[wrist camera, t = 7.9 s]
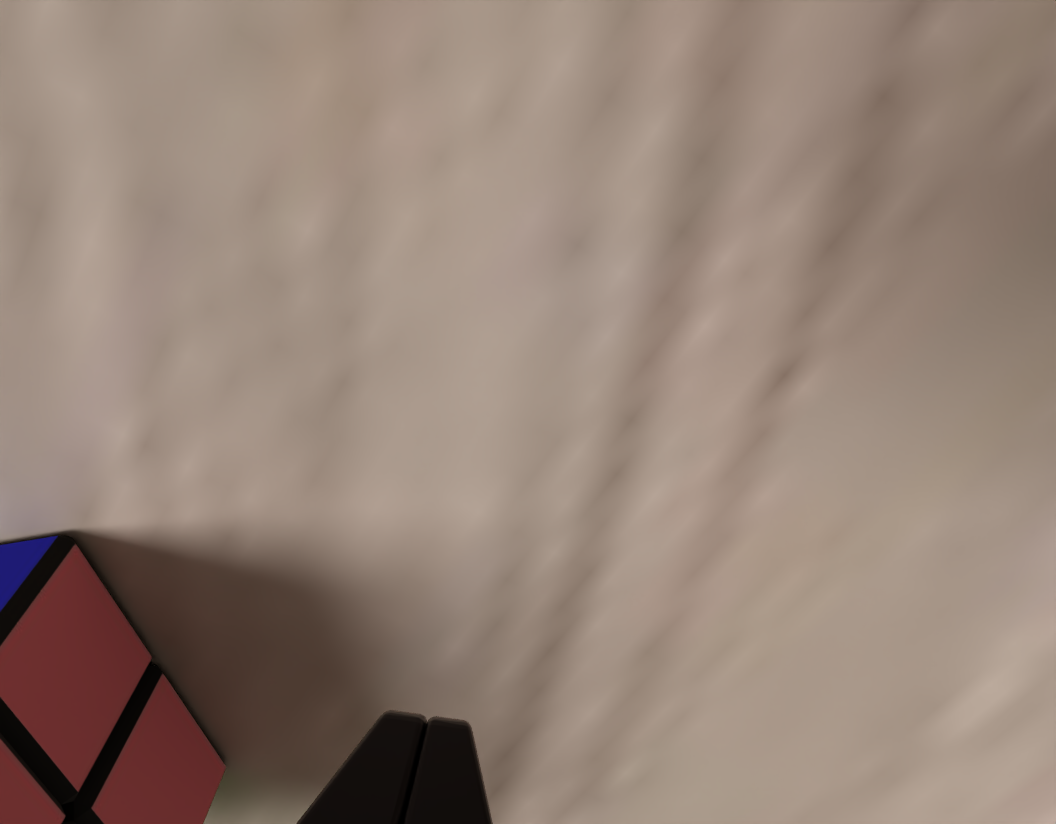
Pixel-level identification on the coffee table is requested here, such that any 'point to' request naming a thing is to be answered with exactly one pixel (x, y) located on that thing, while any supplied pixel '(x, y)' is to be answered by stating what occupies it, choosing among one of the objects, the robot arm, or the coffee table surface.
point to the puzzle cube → (88, 705)
